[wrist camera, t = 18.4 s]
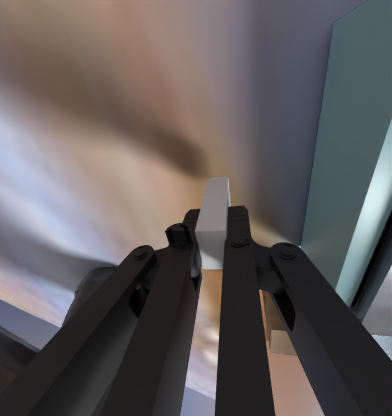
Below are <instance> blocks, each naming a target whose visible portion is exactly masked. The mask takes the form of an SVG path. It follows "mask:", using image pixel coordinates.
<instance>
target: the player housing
mask: <svg viewBox="0 0 392 416" xmlns="http://www.w3.org/2000/svg"><path fill="white" fill-rule="evenodd" d="M350 310H351V311H352V312H353V313H354V315H355V316H356V317H357V318H358V320H359V321H360V322H361V323H362V324H363V326H364V327H365V328H366V329H367V331H368V332H369V333H370V334H372V335H383V336H392V223H391V225H390V228H389V230H388V232H387V234H386V236H385V239H384V241H383V243H382V245H381V248H380V250H379V252H378V254H377V257H376V258H371V259H370V262H369V264H368V266H367V269H366V271H365V273H364V276H363V278H362V280H361V283H360V285H359V287H358V290H357V292H356V294H355V297H354V299H353V301H352V304H351V306H350Z"/></svg>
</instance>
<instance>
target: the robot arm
mask: <svg viewBox="0 0 392 416" xmlns="http://www.w3.org/2000/svg"><path fill="white" fill-rule="evenodd" d="M165 233H166V236H167V239H168V242H169V245H168V247H166V248H163V249H159V250H155V251H154V249H153V248H152V247H151V246H149V245H143V246H139V247H137V248H136V249H134V250H133V251H132V252H131V253H130V254H129V255H128V256H127V257H126V258H125V259H124V260H123V261H122V262H121V264H120V265H119V266H118V267H117V268H116V269H115V268H99V269H95V270H93V271H91V272H89V273H88V274H87V275H86V277H85V278H84V279H83V280H82V282H81V283H80V284H79V285H78V287H77V289H76V292H75V299H74V300H73V302H72V304H71V306H70V308H69V310H68V313H67V315H66V317H65V320H64V322H63V324H62V327H61V329H60V330H59V331H58V332H57V333H56V335H55V336H54V337H53V338H52V339H51V340H50V341H49V342H48V343H47V344H46V345H45V347H44V348H43V349H42V350H41V349H39V348H38V347H36V346H34V345H32V344H31V343H29V342H27V341H26V340H24V339H22V338H21V337H19V336H17V335H16V334H14V333H12V332H10V331H9V330H7V329H5V328H4V327H2V326H0V416H180V412H181V406H182V400H183V394H184V387H185V381H186V375H187V368H188V362H189V356H190V350H191V343H192V337H193V331H194V324H195V318H196V312H197V305H198V299H199V293H200V286H201V280H202V273H201V265H202V266H203V269H223V277H222V295H221V313H220V331H219V349H218V367H217V385H216V404H215V416H275V410H274V402H273V394H272V387H271V379H270V372H269V364H268V356H267V348H266V340H265V333H264V325H263V317H262V310H261V302H260V294H259V289H260V290H263V291H266V292H269V294H270V297H271V299H272V301H273V303H274V305H275V308H276V310H277V312H278V314H279V316H280V319H281V321H282V323H283V325H284V327H285V330H286V332H287V334H288V336H289V338H290V341H291V343H292V345H293V347H294V349H295V351H296V354H297V356H298V358H299V360H300V362H301V365H302V367H303V369H304V371H305V373H306V376H307V378H308V380H309V382H310V384H311V386H312V389H313V391H314V393H315V395H316V398H317V400H318V402H319V404H320V406H321V408H322V411H323V413H324V415H325V416H392V360H391V359H390V358H389V357H388V355H387V354H386V353H385V352H384V350H383V349H382V348H381V347H380V346H379V344H378V343H377V342H376V341H375V339H374V338H373V337H372V336H371V334H370V333H369V332H368V331H367V329H366V328H365V327H364V326H363V324H362V323H361V322H360V321H359V320H358V318H357V317H356V316H355V315H354V313H353V312H352V311H351V310H350V308H349V307H348V306H347V305H346V303H345V302H344V301H343V300H342V299H341V297H340V296H339V295H338V294H337V292H336V291H335V290H334V289H333V287H332V286H331V285H330V284H329V282H328V281H327V280H326V279H325V278H324V276H323V275H322V274H321V273H320V271H319V270H318V269H317V268H316V266H315V265H314V264H313V263H312V261H311V260H310V259H309V258H308V256H307V255H306V254H305V253H304V252H303V250H302V249H300V248H299V247H298V246H296V245H294V244H291V243H286V242H282V243H277V244H274V245H273V246H272V247H271V248H269V247H264V246H261V245H259V244H257V243H256V242H254V241H253V239H252V237H251V232H250V224H249V216H248V210H247V209H246V208H245V206H231V203H230V192H229V180H228V176H225V177H215V178H209V179H208V183H207V187H206V191H205V194H204V198H203V202H202V206H201V209H190V210H189V211H188V212H187V213H186V215H185V218H184V220H183V223H177V224H174V225H171V226H170V227H169V228H167V230H166V231H165Z"/></svg>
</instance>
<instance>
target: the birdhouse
mask: <svg viewBox="0 0 392 416" xmlns="http://www.w3.org/2000/svg"><path fill="white" fill-rule="evenodd" d="M391 210H392V0H367V1H366V2H364V3H363V4H361V5H360V6H358V7H357V8H355V9H354V10H352V11H351V12H349V13H348V14H346V15H345V16H343V17H342V18H340V19H339V20H337V21H336V22H334V24H333V31H332V38H331V45H330V52H329V58H328V65H327V72H326V79H325V86H324V92H323V99H322V106H321V113H320V120H319V126H318V133H317V140H316V147H315V154H314V160H313V167H312V174H311V181H310V188H309V195H308V201H307V208H306V215H305V222H304V229H303V235H302V242H301V249H302V250H303V252H304V253H305V254H306V255H307V256H308V258H309V259H310V260H311V261H312V263H313V264H314V265H315V266H316V268H317V269H318V270H319V271H320V273H321V274H322V275H323V276H324V278H325V279H326V280H327V281H328V282H329V284H330V285H331V286H332V287H333V289H334V290H335V291H336V292H337V294H338V295H339V296H340V297H341V299H342V300H343V301H344V302H345V303H346V305H347V306H348V307H349V308H350V306H351V304H352V301H353V299H354V297H355V294H356V292H357V290H358V287H359V285H360V283H361V280H362V278H363V276H364V273H365V271H366V269H367V266H368V264H369V262H370V259H371V258H376V257H377V254H378V252H379V250H380V248H381V245H382V243H383V241H384V239H385V236H386V234H387V232H388V230H389V229H388V228H387V227H386V226H385V224H386V222H387V219H388V217H389V215H390V212H391Z"/></svg>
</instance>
